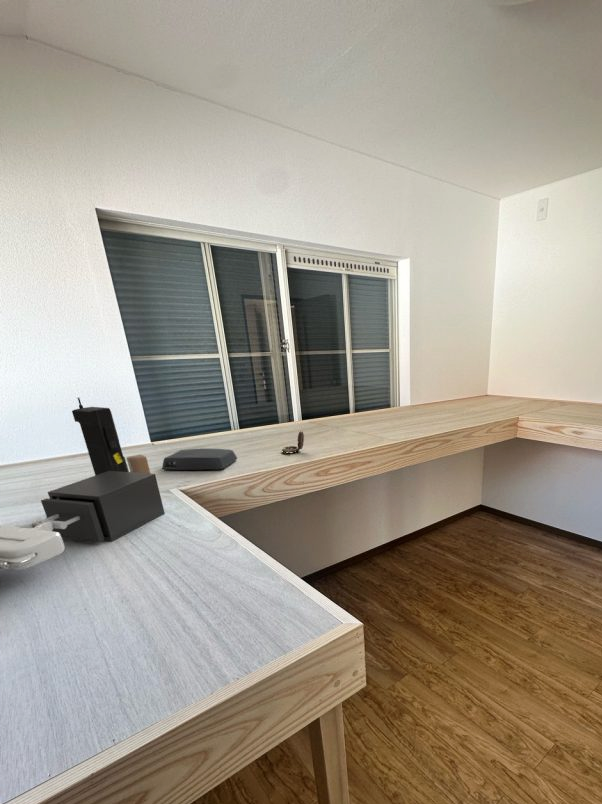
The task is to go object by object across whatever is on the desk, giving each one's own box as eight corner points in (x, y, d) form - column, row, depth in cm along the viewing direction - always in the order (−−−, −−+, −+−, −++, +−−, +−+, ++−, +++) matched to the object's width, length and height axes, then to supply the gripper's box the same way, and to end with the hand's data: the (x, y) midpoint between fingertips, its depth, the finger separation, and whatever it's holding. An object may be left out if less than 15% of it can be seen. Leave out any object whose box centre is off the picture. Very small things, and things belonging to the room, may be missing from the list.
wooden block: (133, 484, 116) (125, 456, 112) (148, 481, 118) (141, 453, 115) (137, 487, 113) (130, 459, 110) (153, 484, 116) (146, 456, 112)
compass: (284, 449, 149) (281, 429, 146) (306, 449, 149) (304, 429, 146) (278, 455, 142) (275, 434, 139) (301, 455, 141) (298, 434, 138)
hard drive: (182, 459, 139) (180, 447, 137) (238, 459, 138) (237, 447, 136) (161, 471, 127) (158, 458, 125) (222, 471, 126) (220, 458, 124)
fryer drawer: (80, 552, 77) (66, 513, 74) (32, 546, 79) (18, 508, 76) (151, 515, 93) (142, 482, 90) (109, 511, 95) (100, 478, 92)
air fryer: (112, 541, 83) (98, 496, 79) (62, 535, 86) (47, 492, 82) (164, 513, 96) (155, 473, 92) (120, 509, 99) (109, 470, 95)
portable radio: (141, 497, 106) (115, 396, 96) (118, 505, 101) (88, 400, 91) (121, 493, 109) (93, 395, 99) (98, 501, 104) (67, 398, 94)
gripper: (2, 549, 60) (86, 513, 72) (-96, 536, 65) (-1, 504, 77) (18, 586, 63) (97, 545, 75) (-78, 571, 67) (11, 535, 80)
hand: (46, 524), depth 76 cm, fingers closed, pressing on fryer drawer
